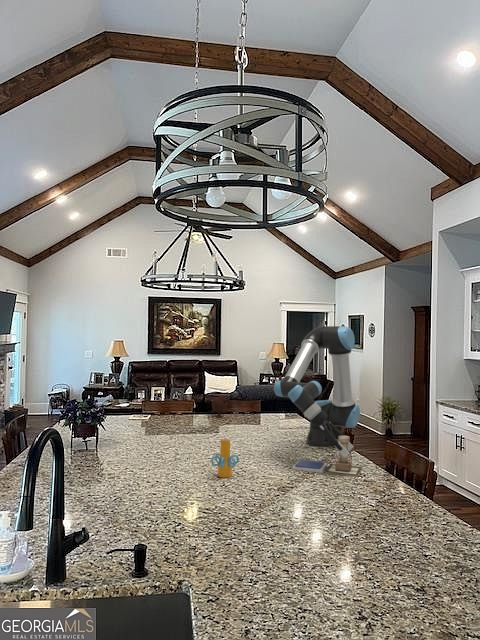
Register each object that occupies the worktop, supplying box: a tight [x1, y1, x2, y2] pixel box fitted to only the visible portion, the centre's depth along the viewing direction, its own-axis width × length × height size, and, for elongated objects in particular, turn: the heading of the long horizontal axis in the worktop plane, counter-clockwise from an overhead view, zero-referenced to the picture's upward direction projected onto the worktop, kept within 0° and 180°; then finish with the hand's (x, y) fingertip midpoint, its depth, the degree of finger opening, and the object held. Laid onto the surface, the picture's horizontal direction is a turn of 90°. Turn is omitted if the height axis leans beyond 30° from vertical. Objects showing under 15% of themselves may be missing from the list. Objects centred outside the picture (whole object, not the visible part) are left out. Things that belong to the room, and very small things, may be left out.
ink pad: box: [291, 459, 328, 473], centre depth 240 cm, size 13×13×2 cm
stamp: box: [334, 435, 353, 472], centre depth 236 cm, size 7×6×14 cm
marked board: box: [324, 463, 363, 478], centre depth 235 cm, size 14×14×1 cm
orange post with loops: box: [210, 438, 240, 479], centre depth 224 cm, size 12×10×15 cm
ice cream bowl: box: [211, 395, 228, 419], centre depth 368 cm, size 11×11×15 cm
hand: (349, 452), depth 235 cm, fingers open, 13 cm apart
